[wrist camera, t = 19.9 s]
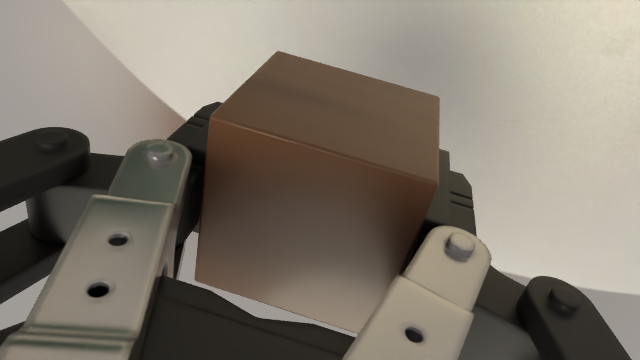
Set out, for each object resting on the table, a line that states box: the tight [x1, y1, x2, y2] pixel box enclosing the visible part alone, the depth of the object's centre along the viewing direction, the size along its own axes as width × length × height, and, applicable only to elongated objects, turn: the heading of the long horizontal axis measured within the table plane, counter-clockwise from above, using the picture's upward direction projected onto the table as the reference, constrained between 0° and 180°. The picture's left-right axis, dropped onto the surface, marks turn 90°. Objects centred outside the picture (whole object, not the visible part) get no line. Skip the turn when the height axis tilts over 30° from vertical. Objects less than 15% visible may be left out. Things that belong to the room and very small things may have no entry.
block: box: [195, 51, 440, 334], centre depth 12 cm, size 4×4×4 cm
